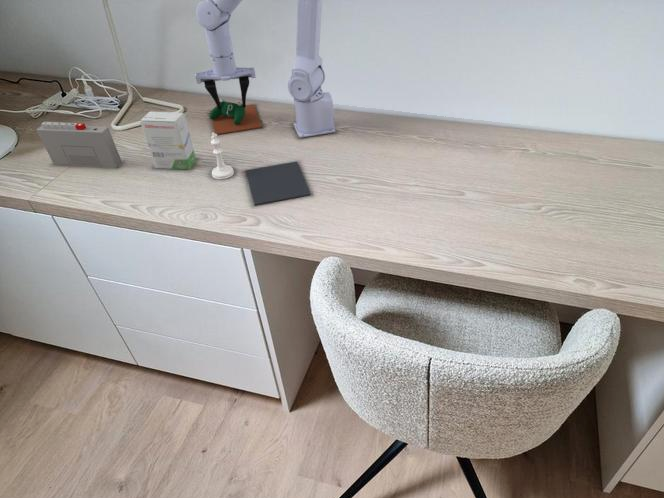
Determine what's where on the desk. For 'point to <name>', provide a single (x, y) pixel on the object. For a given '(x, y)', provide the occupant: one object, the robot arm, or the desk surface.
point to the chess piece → (220, 161)
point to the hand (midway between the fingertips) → (232, 106)
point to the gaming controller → (229, 111)
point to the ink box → (168, 140)
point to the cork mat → (248, 123)
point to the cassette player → (79, 145)
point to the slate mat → (276, 183)
